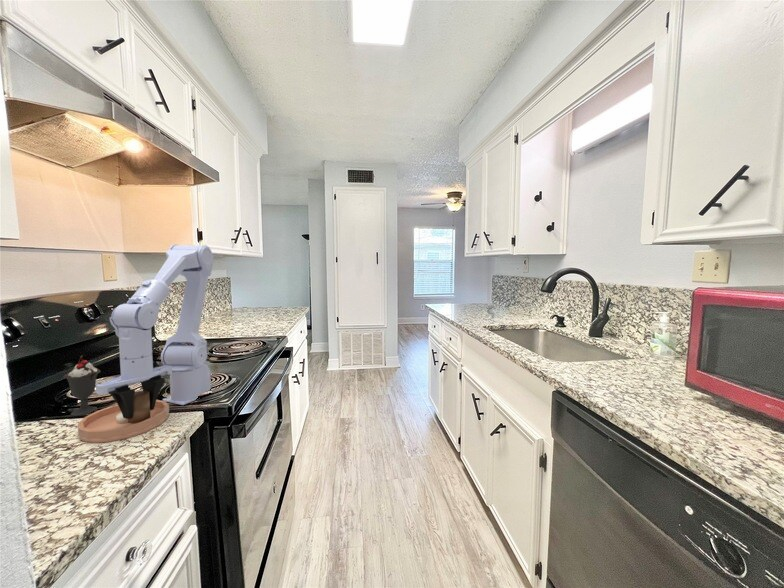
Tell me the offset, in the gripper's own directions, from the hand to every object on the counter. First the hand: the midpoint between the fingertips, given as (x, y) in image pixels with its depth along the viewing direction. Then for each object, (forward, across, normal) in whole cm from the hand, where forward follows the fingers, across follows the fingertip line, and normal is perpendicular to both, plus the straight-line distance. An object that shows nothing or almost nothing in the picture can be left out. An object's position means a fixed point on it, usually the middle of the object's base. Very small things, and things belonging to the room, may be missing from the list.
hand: (139, 413), depth 71 cm
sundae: (+4, 0, -22) cm, 22 cm away
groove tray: (+3, 0, -4) cm, 6 cm away
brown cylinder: (+1, 0, 0) cm, 1 cm away
